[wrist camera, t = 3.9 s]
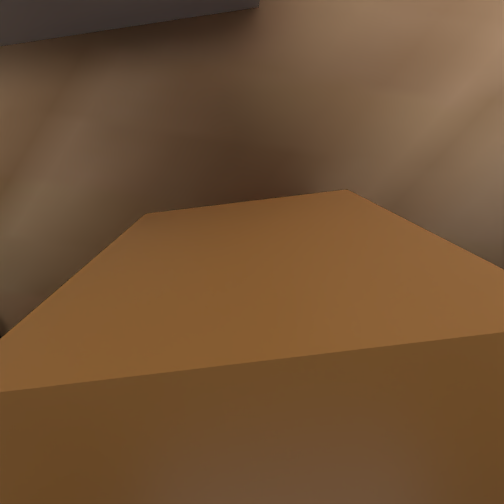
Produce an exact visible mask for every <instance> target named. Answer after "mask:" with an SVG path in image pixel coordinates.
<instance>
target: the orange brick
mask: <svg viewBox="0 0 504 504" xmlns="http://www.w3.org/2000/svg"><path fill="white" fill-rule="evenodd" d="M0 504H504V269H502V268H500V267H498V266H496V265H494V264H492V263H490V262H488V261H486V260H484V259H482V258H480V257H478V256H476V255H474V254H473V253H471V252H469V251H467V250H465V249H463V248H461V247H459V246H457V245H455V244H453V243H451V242H449V241H447V240H445V239H443V238H441V237H439V236H437V235H435V234H433V233H431V232H430V231H428V230H426V229H424V228H422V227H420V226H418V225H416V224H414V223H412V222H410V221H408V220H406V219H404V218H402V217H400V216H398V215H396V214H394V213H392V212H390V211H388V210H386V209H385V208H383V207H381V206H379V205H377V204H375V203H373V202H371V201H369V200H367V199H365V198H363V197H361V196H359V195H357V194H355V193H353V192H351V191H349V190H347V189H346V190H338V191H329V192H321V193H313V194H304V195H296V196H288V197H279V198H271V199H263V200H254V201H246V202H238V203H229V204H221V205H213V206H204V207H196V208H188V209H179V210H171V211H163V212H154V213H146V214H145V215H144V216H142V217H141V218H140V219H139V220H138V221H137V222H135V223H134V224H133V225H132V226H131V227H130V228H128V229H127V230H126V231H125V232H124V233H123V234H121V235H120V236H119V237H118V238H117V239H116V240H114V241H113V242H112V243H111V244H110V245H109V246H107V247H106V248H105V249H104V250H103V251H102V252H101V253H99V254H98V255H97V256H96V257H95V258H94V259H92V260H91V261H90V262H89V263H88V264H87V265H85V266H84V267H83V268H82V269H81V270H80V271H78V272H77V273H76V274H75V275H74V276H73V277H71V278H70V279H69V280H68V281H67V282H66V283H64V284H63V285H62V286H61V287H60V288H59V289H58V290H56V291H55V292H54V293H53V294H52V295H51V296H49V297H48V298H47V299H46V300H45V301H44V302H42V303H41V304H40V305H39V306H38V307H37V308H35V309H34V310H33V311H32V312H31V313H30V314H28V315H27V316H26V317H25V318H24V319H23V320H21V321H20V322H19V323H18V324H17V325H16V326H15V327H13V328H12V329H11V330H10V331H9V332H8V333H6V334H5V335H4V336H3V337H2V338H1V339H0Z"/></svg>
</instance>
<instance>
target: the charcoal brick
mask: <svg viewBox="0 0 504 504" xmlns="http://www.w3.org/2000/svg"><path fill="white" fill-rule="evenodd" d="M259 2H260V0H0V46H5V45H12V44H18V43H25V42H32V41H38V40H45V39H52V38H58V37H65V36H71V35H78V34H85V33H91V32H98V31H104V30H111V29H118V28H124V27H131V26H137V25H144V24H151V23H157V22H164V21H170V20H177V19H184V18H190V17H197V16H204V15H210V14H217V13H223V12H230V11H237V10H243V9H250V8H256V7H259Z"/></svg>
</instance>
